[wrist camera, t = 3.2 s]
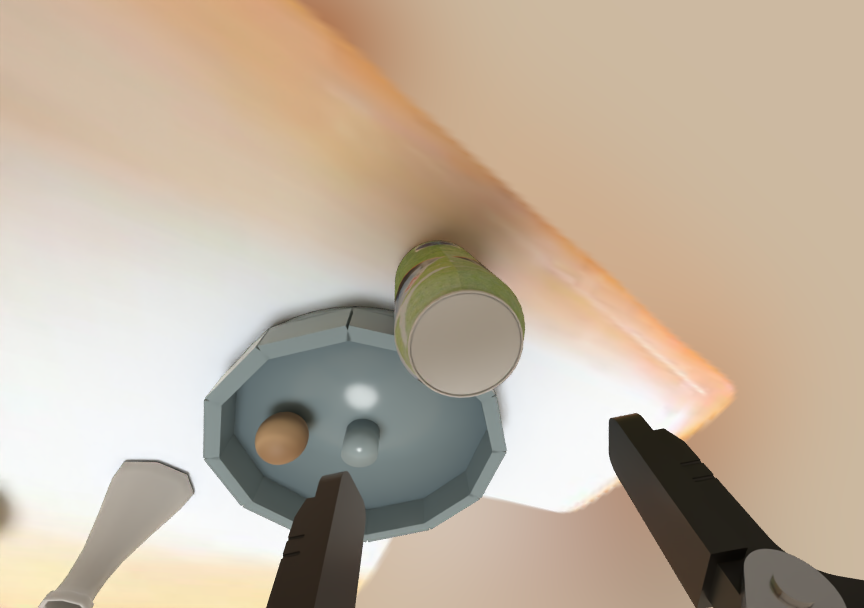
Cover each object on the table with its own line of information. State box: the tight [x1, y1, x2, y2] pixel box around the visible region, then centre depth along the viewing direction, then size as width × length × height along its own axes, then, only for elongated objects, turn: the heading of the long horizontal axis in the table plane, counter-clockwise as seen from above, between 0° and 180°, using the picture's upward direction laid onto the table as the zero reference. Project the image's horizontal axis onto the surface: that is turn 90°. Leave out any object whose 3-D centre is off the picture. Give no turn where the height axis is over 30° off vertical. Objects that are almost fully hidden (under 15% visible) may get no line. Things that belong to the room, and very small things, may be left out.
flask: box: [38, 462, 194, 608], centre depth 29 cm, size 7×7×10 cm
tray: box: [203, 307, 507, 542], centre depth 30 cm, size 24×24×4 cm
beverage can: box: [394, 241, 525, 398], centre depth 20 cm, size 6×7×12 cm
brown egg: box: [255, 412, 309, 465], centre depth 28 cm, size 4×4×4 cm
